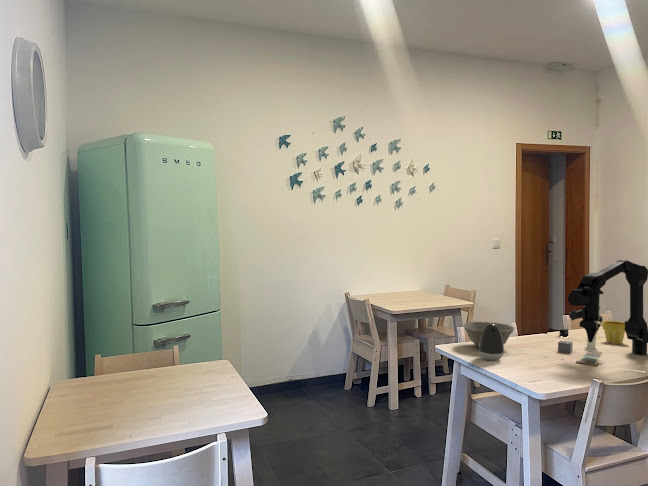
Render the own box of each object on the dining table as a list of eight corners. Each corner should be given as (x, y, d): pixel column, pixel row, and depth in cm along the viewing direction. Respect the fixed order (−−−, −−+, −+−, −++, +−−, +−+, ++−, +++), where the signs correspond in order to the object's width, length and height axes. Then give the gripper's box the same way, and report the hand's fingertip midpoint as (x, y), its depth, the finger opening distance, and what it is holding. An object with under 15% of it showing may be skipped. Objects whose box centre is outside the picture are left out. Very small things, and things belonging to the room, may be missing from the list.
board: (586, 350, 228) (586, 349, 228) (606, 353, 223) (606, 352, 223) (575, 363, 207) (575, 361, 207) (597, 366, 202) (597, 364, 202)
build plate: (566, 341, 250) (566, 332, 249) (551, 338, 255) (551, 329, 255) (575, 337, 258) (575, 328, 258) (560, 335, 264) (560, 326, 263)
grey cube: (560, 351, 228) (560, 340, 227) (572, 352, 225) (572, 341, 224) (557, 353, 223) (558, 342, 223) (570, 355, 221) (570, 343, 220)
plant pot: (597, 340, 248) (597, 321, 248) (613, 339, 251) (613, 320, 251) (615, 345, 238) (615, 325, 238) (631, 344, 242) (632, 324, 241)
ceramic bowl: (454, 347, 233) (454, 326, 232) (476, 339, 250) (477, 319, 249) (500, 356, 218) (501, 333, 217) (521, 347, 234) (521, 326, 234)
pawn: (585, 348, 216) (586, 326, 215) (597, 350, 213) (599, 327, 213) (583, 351, 212) (585, 328, 211) (596, 353, 209) (598, 329, 209)
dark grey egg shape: (482, 362, 208) (482, 326, 207) (475, 355, 218) (476, 321, 218) (507, 362, 207) (507, 326, 207) (499, 356, 218) (500, 321, 217)
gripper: (574, 300, 224) (574, 335, 225) (566, 305, 209) (565, 342, 210) (603, 302, 218) (602, 338, 218) (596, 308, 203) (595, 346, 203)
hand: (591, 341), depth 212 cm, fingers closed on pawn, 3 cm apart
